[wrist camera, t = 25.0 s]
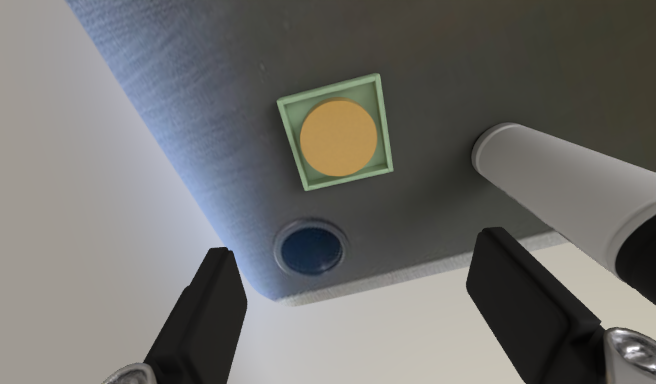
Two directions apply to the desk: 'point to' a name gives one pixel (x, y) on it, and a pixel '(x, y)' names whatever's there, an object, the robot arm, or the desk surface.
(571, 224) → the travel mug
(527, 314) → the robot arm
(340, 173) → the lid
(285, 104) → the tray
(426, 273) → the desk surface
